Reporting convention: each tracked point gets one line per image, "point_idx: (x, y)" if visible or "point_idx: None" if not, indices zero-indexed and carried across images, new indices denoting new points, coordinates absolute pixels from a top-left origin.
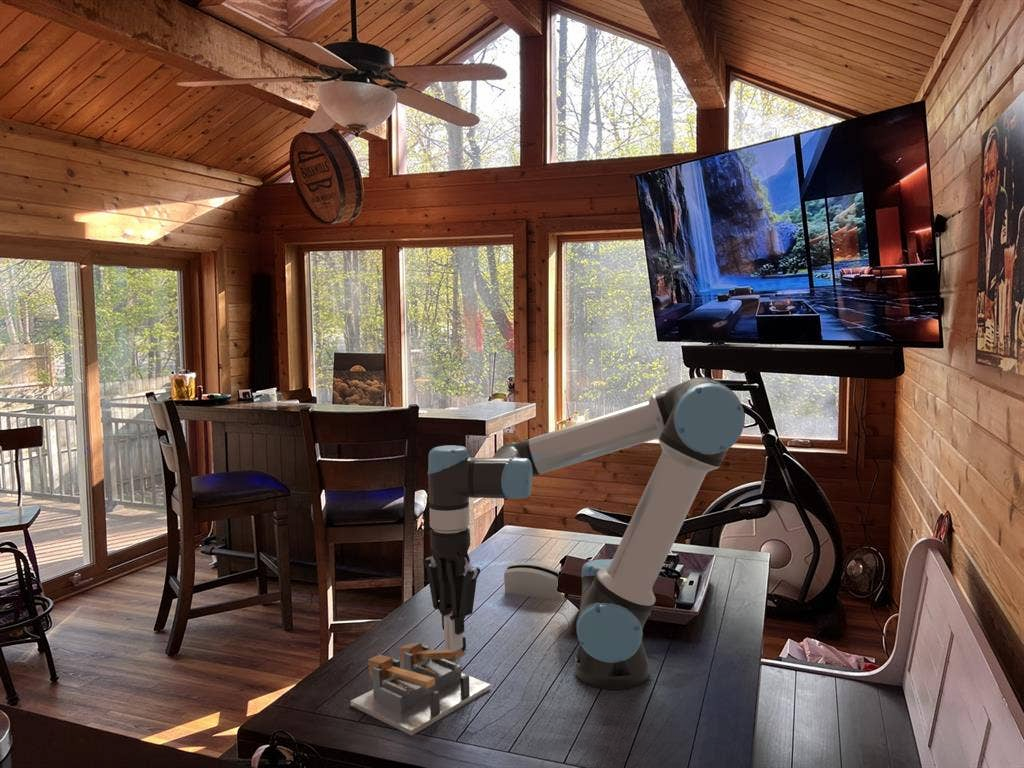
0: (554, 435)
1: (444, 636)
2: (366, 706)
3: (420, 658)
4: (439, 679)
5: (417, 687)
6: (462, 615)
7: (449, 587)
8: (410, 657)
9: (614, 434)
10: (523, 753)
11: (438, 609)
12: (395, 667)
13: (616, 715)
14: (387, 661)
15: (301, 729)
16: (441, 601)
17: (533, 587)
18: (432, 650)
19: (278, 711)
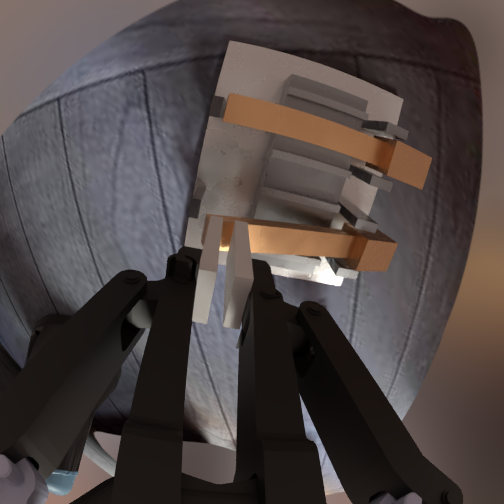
0: None
1: (248, 238)
2: (366, 86)
3: (335, 229)
4: (259, 192)
5: None
6: (125, 276)
7: (244, 413)
8: (356, 217)
9: None
10: (41, 109)
11: (298, 308)
12: (365, 158)
13: (11, 261)
14: (390, 158)
15: (416, 21)
16: (274, 328)
17: None
18: (313, 253)
19: (470, 66)
